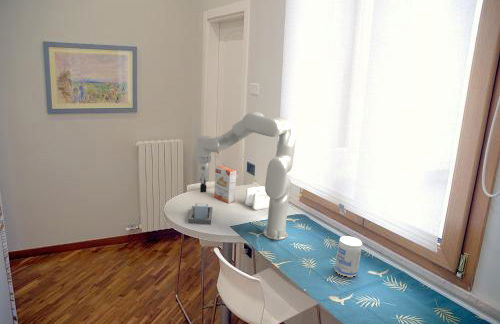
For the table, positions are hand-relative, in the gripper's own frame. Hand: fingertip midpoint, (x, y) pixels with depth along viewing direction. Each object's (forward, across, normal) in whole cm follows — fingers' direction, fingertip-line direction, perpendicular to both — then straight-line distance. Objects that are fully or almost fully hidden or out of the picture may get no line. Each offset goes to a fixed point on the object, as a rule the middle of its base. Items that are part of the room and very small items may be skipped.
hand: (203, 191), depth 202 cm
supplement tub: (+18, -54, -64) cm, 86 cm away
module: (+15, 0, +1) cm, 15 cm away
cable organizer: (+16, +22, -33) cm, 43 cm away
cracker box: (+15, +32, -11) cm, 37 cm away
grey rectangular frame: (+15, 0, +1) cm, 15 cm away
